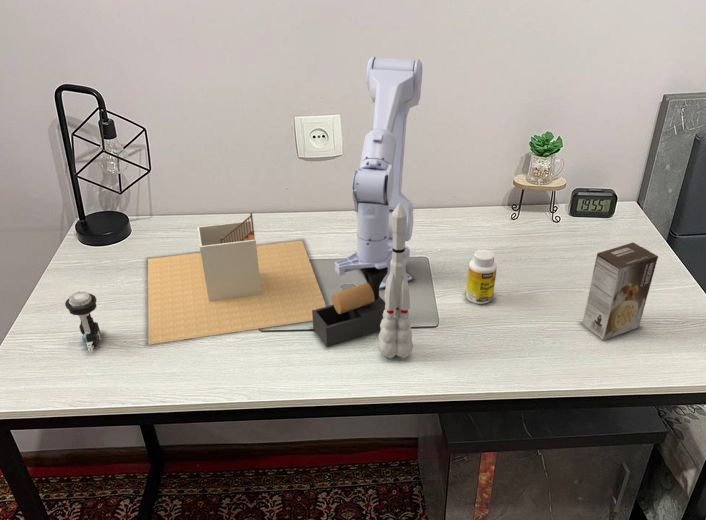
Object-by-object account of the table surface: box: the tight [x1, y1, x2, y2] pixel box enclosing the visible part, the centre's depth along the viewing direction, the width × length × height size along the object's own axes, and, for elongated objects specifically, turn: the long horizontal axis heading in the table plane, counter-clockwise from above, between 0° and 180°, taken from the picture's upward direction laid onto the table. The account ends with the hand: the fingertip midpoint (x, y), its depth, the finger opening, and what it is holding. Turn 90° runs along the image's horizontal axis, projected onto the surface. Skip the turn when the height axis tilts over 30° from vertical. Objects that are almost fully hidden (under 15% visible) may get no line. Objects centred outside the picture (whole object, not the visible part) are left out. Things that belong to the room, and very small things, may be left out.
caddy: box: [312, 295, 385, 348], centre depth 134 cm, size 7×13×5 cm, turn 117°
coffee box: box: [581, 242, 659, 341], centre depth 131 cm, size 9×6×16 cm
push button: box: [64, 291, 102, 352], centre depth 128 cm, size 7×5×10 cm
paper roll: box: [331, 282, 374, 314], centre depth 131 cm, size 4×7×4 cm, turn 117°
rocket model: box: [378, 203, 414, 359], centre depth 120 cm, size 7×7×30 cm
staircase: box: [196, 211, 263, 302], centre depth 142 cm, size 9×11×17 cm
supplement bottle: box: [465, 249, 498, 305], centre depth 141 cm, size 6×6×10 cm
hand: (372, 297), depth 133 cm, fingers closed, pressing on paper roll
